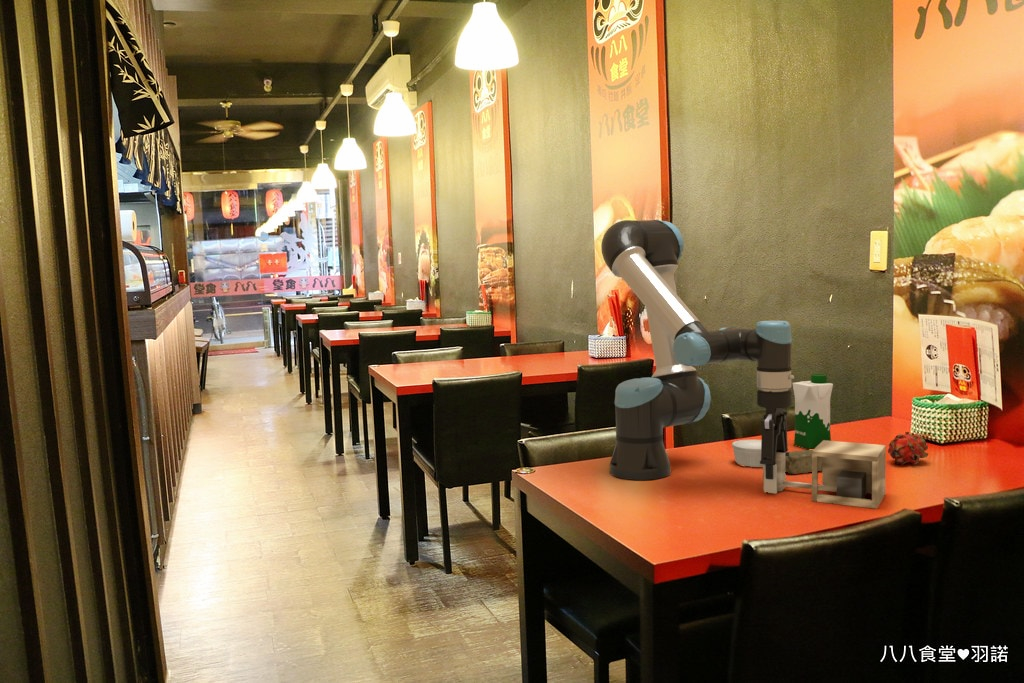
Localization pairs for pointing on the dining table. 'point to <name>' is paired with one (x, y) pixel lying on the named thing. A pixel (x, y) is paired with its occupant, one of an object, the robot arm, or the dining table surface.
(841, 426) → the dining table surface
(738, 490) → the dining table surface
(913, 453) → the dragon fruit
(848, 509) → the dining table surface
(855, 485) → the tethered block
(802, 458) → the stone block
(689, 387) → the robot arm
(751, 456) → the ramekin
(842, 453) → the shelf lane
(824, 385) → the milk carton
